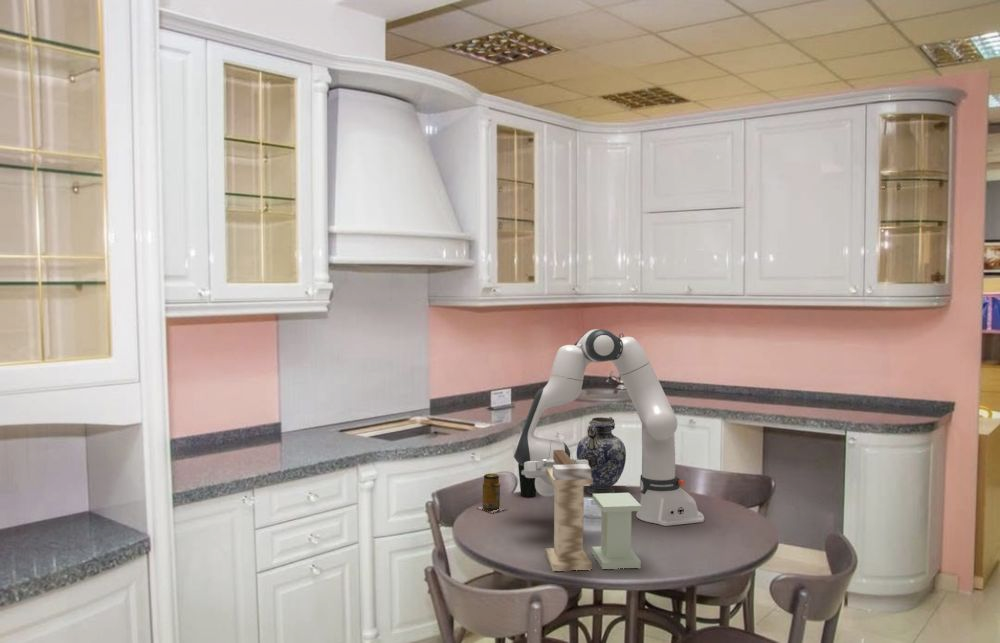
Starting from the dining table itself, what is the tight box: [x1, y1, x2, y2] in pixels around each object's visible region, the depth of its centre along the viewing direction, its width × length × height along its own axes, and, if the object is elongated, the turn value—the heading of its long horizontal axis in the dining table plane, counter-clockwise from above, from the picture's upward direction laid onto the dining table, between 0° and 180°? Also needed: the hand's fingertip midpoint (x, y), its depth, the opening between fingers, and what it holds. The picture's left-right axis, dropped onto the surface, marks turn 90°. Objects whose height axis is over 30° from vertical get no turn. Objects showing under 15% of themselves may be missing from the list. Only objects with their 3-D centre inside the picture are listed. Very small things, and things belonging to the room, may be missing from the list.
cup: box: [517, 463, 537, 499], centre depth 292 cm, size 8×8×12 cm
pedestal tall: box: [545, 468, 593, 572], centre depth 225 cm, size 11×13×26 cm
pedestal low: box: [591, 492, 642, 570], centre depth 227 cm, size 11×13×18 cm
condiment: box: [477, 473, 501, 514], centre depth 276 cm, size 7×8×12 cm
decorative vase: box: [576, 416, 627, 496], centre depth 297 cm, size 21×19×28 cm
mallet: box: [553, 450, 591, 480], centre depth 229 cm, size 10×23×3 cm, turn 6°
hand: (559, 461), depth 238 cm, fingers open, 8 cm apart
